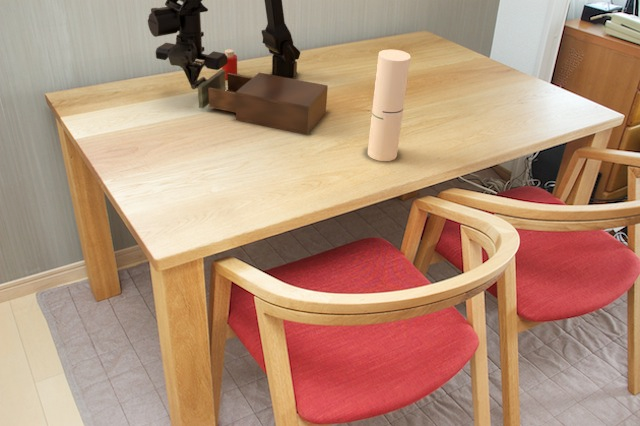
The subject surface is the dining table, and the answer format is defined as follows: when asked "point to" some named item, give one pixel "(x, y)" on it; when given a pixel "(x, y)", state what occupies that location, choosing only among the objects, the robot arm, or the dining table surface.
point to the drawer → (219, 90)
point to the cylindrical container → (388, 104)
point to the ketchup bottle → (230, 63)
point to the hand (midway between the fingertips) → (193, 86)
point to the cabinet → (281, 103)
